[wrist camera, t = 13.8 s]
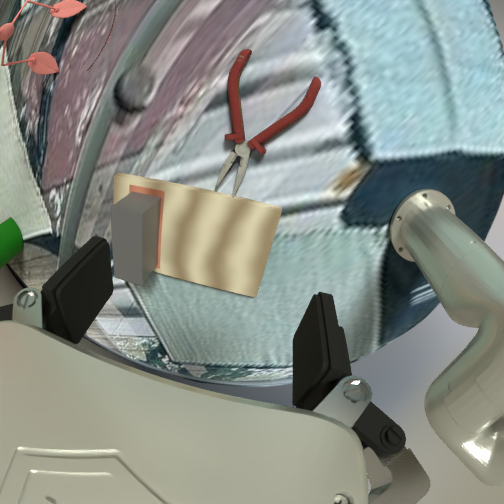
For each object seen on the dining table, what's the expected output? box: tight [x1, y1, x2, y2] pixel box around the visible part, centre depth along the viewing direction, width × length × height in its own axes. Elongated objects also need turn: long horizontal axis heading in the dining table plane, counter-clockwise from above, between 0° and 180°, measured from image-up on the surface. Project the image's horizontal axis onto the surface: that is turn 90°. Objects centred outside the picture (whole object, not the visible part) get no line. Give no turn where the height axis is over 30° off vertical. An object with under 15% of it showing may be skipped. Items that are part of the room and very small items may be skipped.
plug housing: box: [111, 191, 161, 286], centre depth 39 cm, size 12×5×6 cm, turn 167°
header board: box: [114, 173, 282, 297], centre depth 41 cm, size 26×16×5 cm, turn 77°
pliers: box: [215, 49, 321, 198], centre depth 33 cm, size 12×20×3 cm, turn 157°
